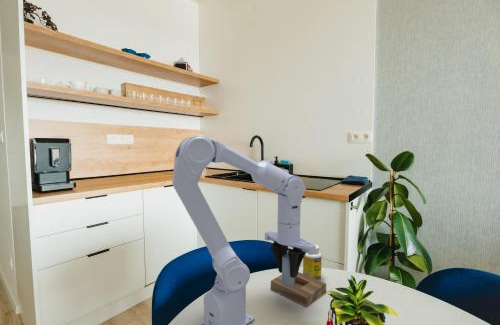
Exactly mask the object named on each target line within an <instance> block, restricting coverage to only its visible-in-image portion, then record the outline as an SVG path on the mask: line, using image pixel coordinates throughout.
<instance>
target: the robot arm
mask: <svg viewBox="0 0 500 325" xmlns="http://www.w3.org/2000/svg"><path fill="white" fill-rule="evenodd" d="M210 163H214V164H218V163H225V164H227V165H228V166H232V167H234V168H235V169H238V170H240V171H243V172H245V173H247V174H250V176H251V178H252V181H253V182H254V183H256V184H258V185H260V186H262V187H264V188H267V189H269V190H270V191H272V192H275V194H277V231H270V230H269V231H266V232H264V240H266V241H271V242H272V244H271V245H270V250H271V252H272V255H273V256H274V259H275V261H276V264H277V269H278V272H279V273H280V274H282V255H284V254H288V256H289V260H290V276H291V277H292V278H294V277H296V276H297V275H298V272H300V271H299V270H300V268H301V265H302V263H303V258H304V256H305V254H306V253H308V254H309V255H312V254H314V253H316V245H317V244H316V245H314V244H315V243H311V242H309V241H307V240H305V239H304V238H302V237H301V207H302V206H301V204H302V199H303V196H304V195H305V192H306V190H307V187H306V186H305V184H304V181H303V179H302V178H301V177H300V176H298V175H293V174H290V173H289V172H290V171H289V170H288V169H285V168H284V169H282V168H280V167H278V166H276V165H274V164H275V162H274V161H272V160H260V161H255V160H254V159H252V158H250V157H248V156H246V155H245V154H243V153H241V152H239V151H237V150H235V149H233V148H232V147H230V146H228V145H227V144H224V143H222V142H219V141H218V140H215V139H210V138H208V137H207V136H205V135H200V134H198V135H193V136H190V137H186V138H184V139H182V140H181V142H180V143H179V145H178V147H177V148H176V151H175V153H174V163H173V173H172V186H173V188H174V190H175V192H176V194H177V196H178V197H179V199H180V201H181V202H182V205H183V206H184V208H185V210H186V212H187V214H188V215H189V217H190V219H191V221H192V222H193V224H194V226H195V228H196V230H197V232H198V233H199V235H200V237H201V239H202V241H203V242H204V244H205V246H206V248H207V249H208V252H209V254H210V256H211V259H212V268H213V270H214V271H215V272H216V277H215V280H214V284H213V286H212V287H211V289H210V290H209V291H207V292H205V293H204V297H203V319H202V321H201V323H202V324H203V325H248V324H250V323H252V322H253V321H254V317H253V316H252V315H251V314H249V313H247V305H246V304H247V300H246V299H247V297H246V296H247V295H246V294H247V292H246V291H247V290H246V288H247V284H248V282H249V281H250V277H251V273H250V272H251V271H250V269H249V267H248V266H247V264H245V263H244V262H243V261H242V260H241V259H240V258H239V256H237V254H236V252H235V251H234V249H233V248H232V247H231V245H230V243H229V241H228V240H227V237H226V235H225V233H224V232H223V229H222V228H221V226H220V224H219V222H218V221H217V218H216V217H215V215H214V213H213V211H212V209H211V206H210V205H209V203H208V202H207V199H206V198H205V196H204V194H203V191H202V190H201V188H200V186H199V182H200V179H201V177H202V174H203V171H204V170H206V168H207V167H208V166H209V164H210ZM289 247H290V248H292V249H290V250H289Z"/></svg>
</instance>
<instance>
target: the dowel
mask: <svg viewBox="0 0 500 325" xmlns="http://www.w3.org/2000/svg"><path fill="white" fill-rule="evenodd" d="M281 275H282V284H283V285H284V286H288V287H290V286H293V285H294V278H292V277H291V276H290V260H289V256H288V253H287V254H284V255H282V272H281Z"/></svg>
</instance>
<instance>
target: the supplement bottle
mask: <svg viewBox="0 0 500 325" xmlns="http://www.w3.org/2000/svg"><path fill="white" fill-rule="evenodd" d="M313 244H314V245H316V253H314V254H312V255H309V254H308V253H306V254H305V256H304V258H303V260H302V274H305V275H307V276H310V277H312V278H315V279H317V280H320V281H321V279H322V257H323V256H322V252H321V251H320V246H319V245H318V244H315V243H313Z"/></svg>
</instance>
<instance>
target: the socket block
mask: <svg viewBox="0 0 500 325" xmlns="http://www.w3.org/2000/svg"><path fill="white" fill-rule="evenodd" d="M270 290H272V291H274V292H275V293H278V294H279V295H281V296H283V297H286V298H288V299H289V300H292V301H293V302H295V303H298V304H300V305H302V306H303V307H305V308H308V307H309V306H311V305H312V304H313V303H314V302H315V301H317V300H318V299H319V298H320V297H321V296H323V295H324V294H325V293H326V292H327V282H324V281H322V280H321V279H320V280H317V279H315V278H312V277H310V276H307V275H305V274H303V272H300V271H298V275H297V276H296V277H294V285H293V286H290V287H288V286H284V285H283V284H282V274H280V275H279V276H277V277H275V278H273V279H271V280H270Z"/></svg>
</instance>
